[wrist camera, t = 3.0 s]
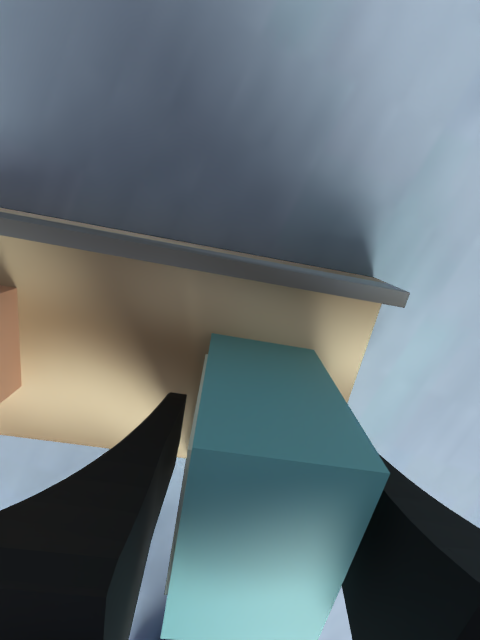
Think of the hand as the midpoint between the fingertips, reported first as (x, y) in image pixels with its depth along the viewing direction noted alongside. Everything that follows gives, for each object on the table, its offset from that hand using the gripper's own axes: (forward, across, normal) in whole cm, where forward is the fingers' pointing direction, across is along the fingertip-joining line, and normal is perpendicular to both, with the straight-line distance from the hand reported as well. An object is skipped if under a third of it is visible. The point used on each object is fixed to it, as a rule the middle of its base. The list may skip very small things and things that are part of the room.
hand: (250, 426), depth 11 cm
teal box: (+1, 0, 0) cm, 1 cm away
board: (+2, +4, -2) cm, 5 cm away
